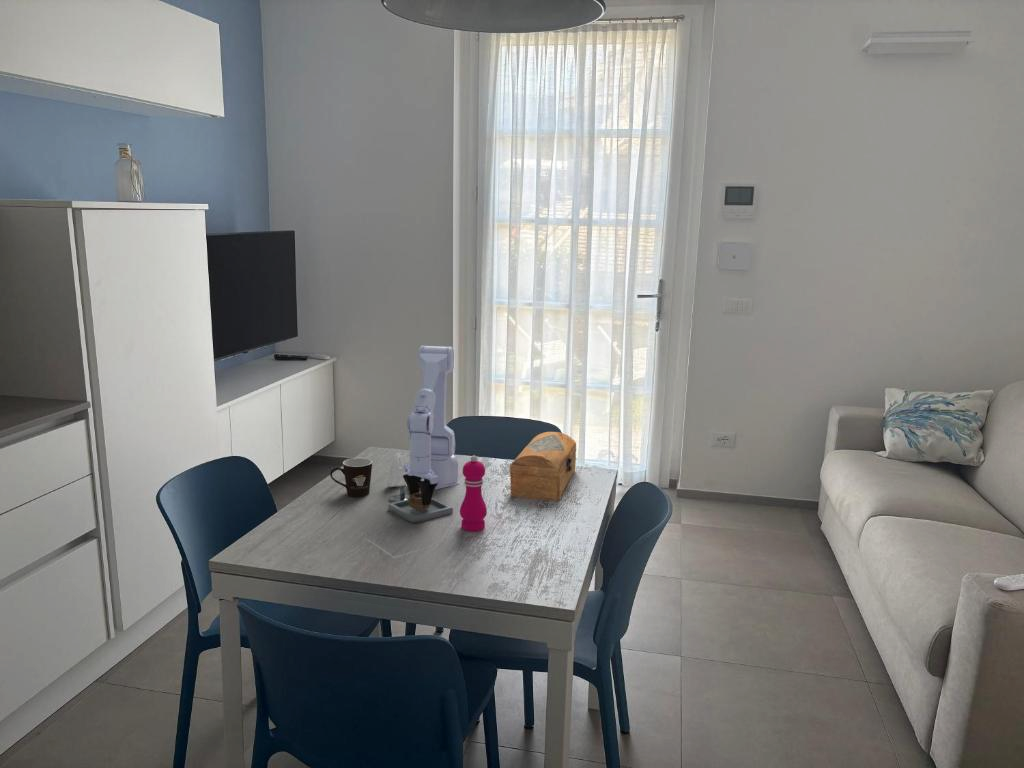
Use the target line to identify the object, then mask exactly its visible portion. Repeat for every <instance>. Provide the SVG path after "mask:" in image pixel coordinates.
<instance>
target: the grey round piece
mask: <svg viewBox="0 0 1024 768" xmlns="http://www.w3.org/2000/svg"><path fill="white" fill-rule="evenodd" d="M406 487H407V484H405V483H403V484H402V483H401V485H398V486H397V487H396V488H397V489H399V494H395V495H391V496H390V497H389V498H388V502H389V503H394V502H398V501H403V500H407V499H408V498H410V494H406Z"/></svg>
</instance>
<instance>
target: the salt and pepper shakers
mask: <svg viewBox="0 0 1024 768" xmlns="http://www.w3.org/2000/svg"><path fill="white" fill-rule="evenodd" d="M389 465H390V466H389V472H388V480H387V483H386V485H387V487H389V488H397V486H398V485H402V483H403V472H404V463H403V457H402V453H401V452H398V453H395V454H394V456H393V457H392V461H391V463H390V464H389ZM421 481H424V479H423V478H421Z"/></svg>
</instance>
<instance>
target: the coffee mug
mask: <svg viewBox="0 0 1024 768" xmlns="http://www.w3.org/2000/svg"><path fill="white" fill-rule="evenodd" d="M342 466H343V468H341V467H335V468H333V469H332V470H330V472H329V473H330V474H329V475H330V478H331V479H332V480H333V481H334V482H335V483H337V484H338V485H340V486H342V487H344V488H345V490H346V493H347V494H346V495H347V496H348V497H350V498H365V497H366V496H369V495H370V490H371V489H370V488H371V479H372V472H373V471H372V470H373V460H372V459H369V458H367V457H364V458H363V457H356V458H355V457H354V458H353V457H352V458H348V459H345V460H344V461H342ZM334 471H340V472H341V473H342V474H343V475H344V481H345V484H344V483H343V482H341V481H338V480H337V479H335V478H334V477H333V473H334Z"/></svg>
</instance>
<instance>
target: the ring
mask: <svg viewBox="0 0 1024 768" xmlns="http://www.w3.org/2000/svg"><path fill="white" fill-rule="evenodd" d="M409 495H410V494H409ZM408 503H409V504H410V507H412V508H413V509H426V508H429V507H430V504H429V505H425V506H424V505H423V504H422V497H421V491H419V492H417V493H413V494H411V495H410V498H408Z"/></svg>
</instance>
